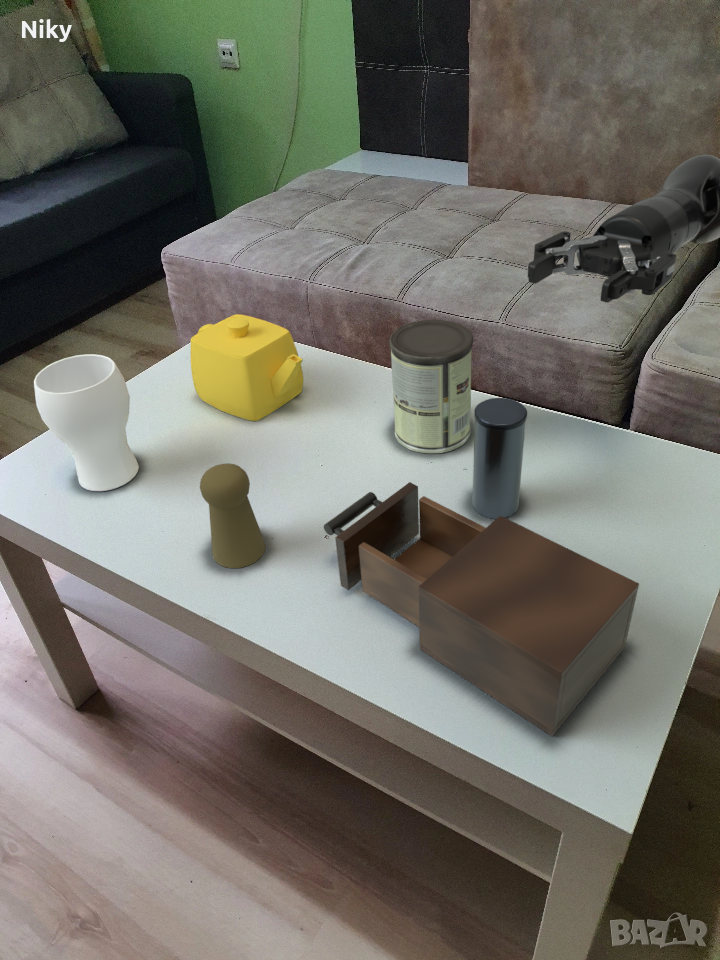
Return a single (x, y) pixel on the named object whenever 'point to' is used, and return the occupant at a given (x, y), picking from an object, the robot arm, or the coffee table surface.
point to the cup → (89, 417)
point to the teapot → (245, 366)
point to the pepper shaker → (231, 516)
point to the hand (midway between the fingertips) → (567, 283)
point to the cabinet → (526, 620)
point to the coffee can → (432, 385)
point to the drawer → (397, 546)
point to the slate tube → (498, 456)
